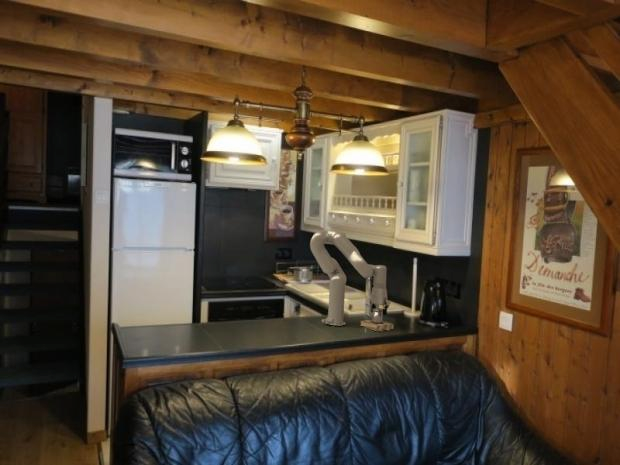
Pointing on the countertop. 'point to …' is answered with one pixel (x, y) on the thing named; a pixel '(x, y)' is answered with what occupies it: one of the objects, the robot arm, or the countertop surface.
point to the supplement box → (369, 307)
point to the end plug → (377, 315)
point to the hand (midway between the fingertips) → (379, 313)
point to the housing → (377, 325)
